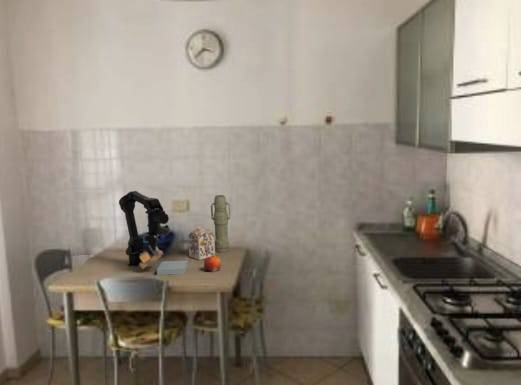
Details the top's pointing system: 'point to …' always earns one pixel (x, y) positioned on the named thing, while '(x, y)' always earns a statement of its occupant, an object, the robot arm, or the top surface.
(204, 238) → the decorative jar
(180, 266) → the pale grey flat slab
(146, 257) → the orange cube
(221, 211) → the green vase
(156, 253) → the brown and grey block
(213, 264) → the tomato
